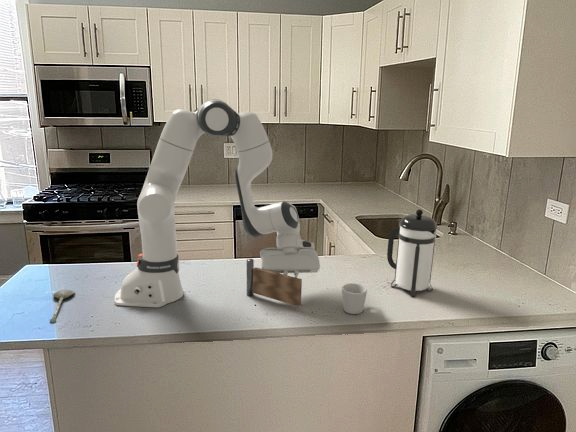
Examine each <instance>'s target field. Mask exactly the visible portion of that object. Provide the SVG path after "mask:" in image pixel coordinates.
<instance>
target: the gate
mask: <svg viewBox="0 0 576 432" xmlns="http://www.w3.org/2000/svg"><path fill="white" fill-rule="evenodd" d="M302 285H303V279H302V278H298V277H297V278H295V276H291V275H289V274H288V275H284V274H283V273H276V272H272V271H268V270H264V269H261V267H260V268H259V267H254V268H253V293H254V294H255V295H259V296H261V297H264V298H265V297H266V298H269V299H273V300H275V301H279V302H283V303H286V304H289V305H291V306H296V307H300V306H301V305H302V291H303V290H302Z"/></svg>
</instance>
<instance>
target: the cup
mask: <svg viewBox="0 0 576 432" xmlns="http://www.w3.org/2000/svg"><path fill="white" fill-rule="evenodd" d="M367 293H368V289H367V287H366V286H364V285H362V284H359V283H353V282H352V283H350V282H349V283H345V284H343V286H342V287H341V295H342V297H341V298H342V299H341V300H342V309H343V310H344V312H345V313H348V314H350V315H359V314H361V313H363V311H364V309H365V303H366V297H367Z"/></svg>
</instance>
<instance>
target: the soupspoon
mask: <svg viewBox="0 0 576 432" xmlns="http://www.w3.org/2000/svg"><path fill="white" fill-rule="evenodd" d="M73 294H75V291H74V290H71V289H60V290H58V291H56V292H54V293H53V294H52V296H53V297H54V298H56V299H58V302H57V305H56V309H55V312H54V314H52V315H53V316H52V318H50V319H49V323H56V322H57V317H58V316H57V315H58V312H59V309H60V307H61V304H62V302H63V300H64V299H67V298H69V297H71V296H72V295H73Z"/></svg>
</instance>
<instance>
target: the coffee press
mask: <svg viewBox="0 0 576 432" xmlns="http://www.w3.org/2000/svg"><path fill="white" fill-rule="evenodd" d="M423 213H424V211H423V210H422V209H417V210H416V212H415V214H408V215H407V214H406V215H405V216H403V217H402V218H401V220H400V221H399V222H398V223H399V224H398V225H399V227H394V228H392V229H391V231H390V232H389V235H388V241H387V254H386V255H387V256H386V260H387V263H388V264H389V266H390V267H391V268H392V269H394V279H393V280H392V282H390V287H391V288H395V287H397V286H399V287H400V288H401V289H404V290H406V291H410V297H412V298H415V297H416V292H419V291H420V292H422V291H425V290H427V291H429V292H432V291H433V290H434V288H433V286H432V284H431V278H432V272H433V271H432V269H433V260H434V253H435V252H434V251H435V246H436V245H435V244H436V243H435V242H436V238H437V230H438V224H437V223H436V221H435V219H434V218H432V217H431V216H428V215H424V214H423ZM396 234H398V239H397V250H396V259H395V260H396V261H394V259H393V251H394V241H395V240H394V239H395V235H396ZM394 282H395V283H396V284H394ZM393 284H394V285H393ZM429 287H430V288H431V289H430V288H429Z"/></svg>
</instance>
